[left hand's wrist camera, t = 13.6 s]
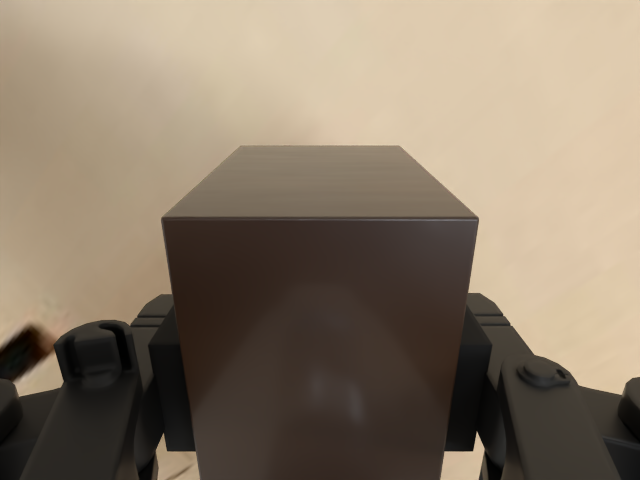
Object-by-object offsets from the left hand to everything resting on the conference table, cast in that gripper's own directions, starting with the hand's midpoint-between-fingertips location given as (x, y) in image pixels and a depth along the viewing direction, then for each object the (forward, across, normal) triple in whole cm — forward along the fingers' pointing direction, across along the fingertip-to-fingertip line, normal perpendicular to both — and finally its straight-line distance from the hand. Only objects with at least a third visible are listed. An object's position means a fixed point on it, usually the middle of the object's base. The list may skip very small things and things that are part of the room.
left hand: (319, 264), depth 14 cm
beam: (0, 0, -10) cm, 10 cm away
